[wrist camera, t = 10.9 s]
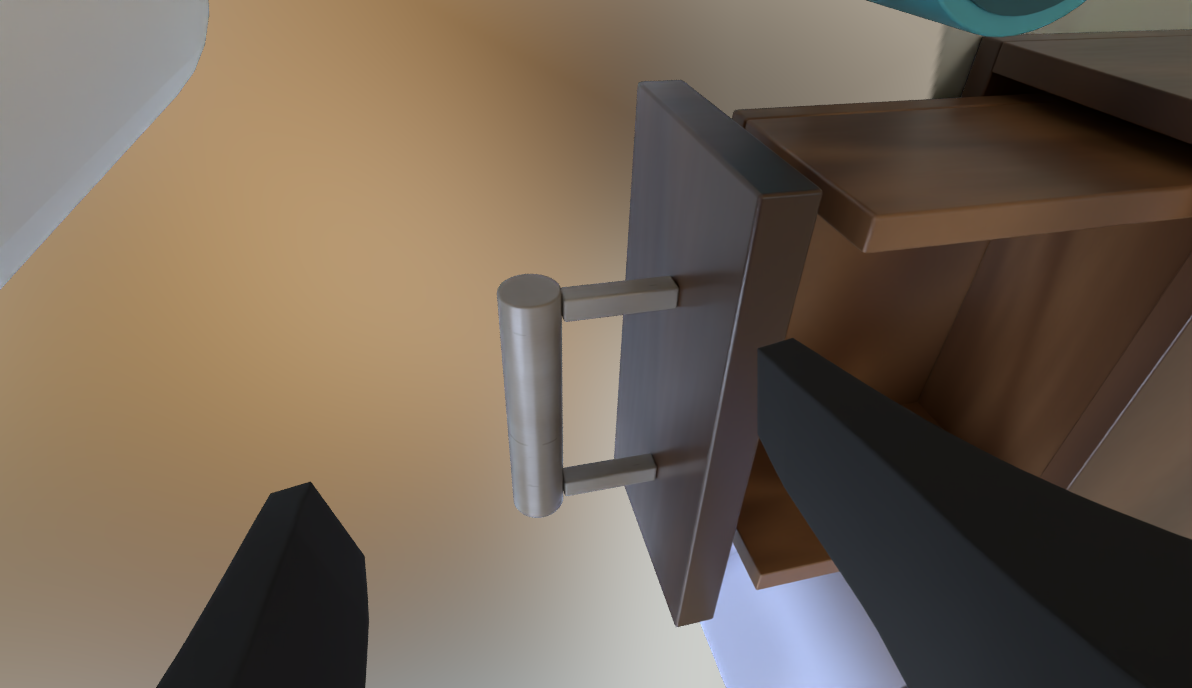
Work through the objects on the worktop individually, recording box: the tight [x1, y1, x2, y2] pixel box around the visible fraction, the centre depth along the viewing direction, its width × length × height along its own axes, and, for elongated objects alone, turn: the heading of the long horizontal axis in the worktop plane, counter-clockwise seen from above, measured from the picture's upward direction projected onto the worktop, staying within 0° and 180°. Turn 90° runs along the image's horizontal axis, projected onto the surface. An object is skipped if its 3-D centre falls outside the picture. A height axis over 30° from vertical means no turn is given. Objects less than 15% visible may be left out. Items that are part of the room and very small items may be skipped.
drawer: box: [497, 80, 1192, 627], centre depth 18 cm, size 17×13×7 cm
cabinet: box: [961, 29, 1192, 539], centre depth 21 cm, size 14×15×9 cm
